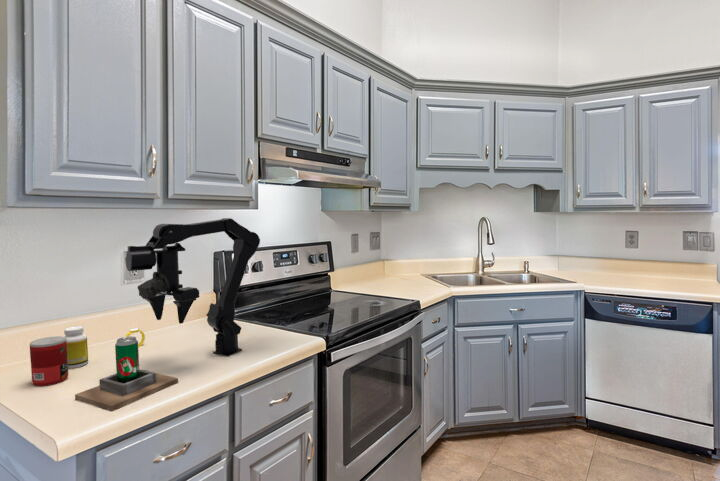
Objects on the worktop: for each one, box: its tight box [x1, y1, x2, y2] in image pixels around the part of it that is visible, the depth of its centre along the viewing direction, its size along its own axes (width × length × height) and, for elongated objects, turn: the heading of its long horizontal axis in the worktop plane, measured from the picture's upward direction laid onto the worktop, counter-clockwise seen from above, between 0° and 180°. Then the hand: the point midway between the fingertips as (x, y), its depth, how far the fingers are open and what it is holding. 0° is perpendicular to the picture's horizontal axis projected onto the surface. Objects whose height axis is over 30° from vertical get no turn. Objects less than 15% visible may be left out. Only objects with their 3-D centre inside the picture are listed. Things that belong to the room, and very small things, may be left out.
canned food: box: [29, 335, 69, 387], centre depth 116 cm, size 8×8×11 cm
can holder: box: [74, 368, 179, 412], centre depth 110 cm, size 18×14×4 cm
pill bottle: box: [63, 325, 89, 369], centre depth 128 cm, size 6×6×11 cm
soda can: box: [114, 336, 140, 384], centre depth 109 cm, size 5×5×12 cm
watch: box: [125, 327, 146, 347], centre depth 145 cm, size 6×3×6 cm, turn 142°
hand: (169, 321), depth 126 cm, fingers open, 9 cm apart
